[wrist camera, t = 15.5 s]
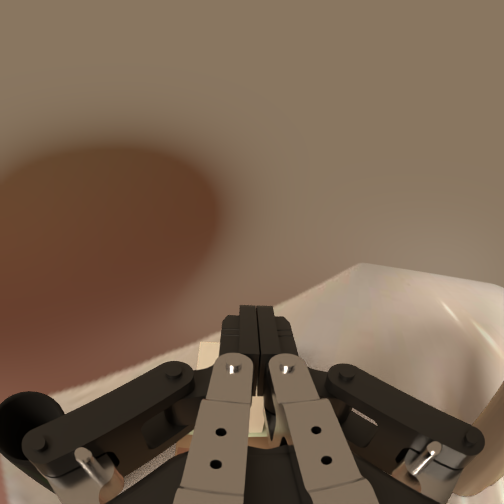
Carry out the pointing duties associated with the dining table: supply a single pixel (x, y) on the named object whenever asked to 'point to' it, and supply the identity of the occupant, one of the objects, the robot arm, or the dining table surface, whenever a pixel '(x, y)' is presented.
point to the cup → (25, 427)
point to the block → (256, 422)
